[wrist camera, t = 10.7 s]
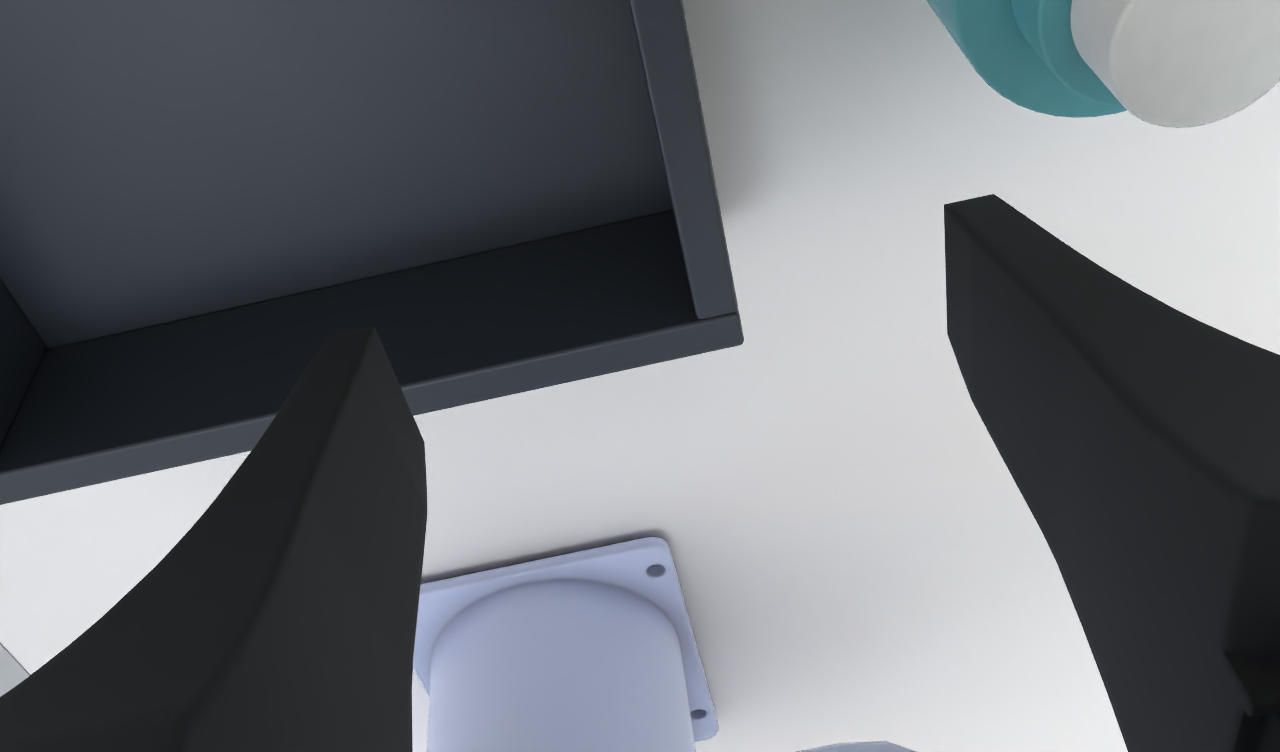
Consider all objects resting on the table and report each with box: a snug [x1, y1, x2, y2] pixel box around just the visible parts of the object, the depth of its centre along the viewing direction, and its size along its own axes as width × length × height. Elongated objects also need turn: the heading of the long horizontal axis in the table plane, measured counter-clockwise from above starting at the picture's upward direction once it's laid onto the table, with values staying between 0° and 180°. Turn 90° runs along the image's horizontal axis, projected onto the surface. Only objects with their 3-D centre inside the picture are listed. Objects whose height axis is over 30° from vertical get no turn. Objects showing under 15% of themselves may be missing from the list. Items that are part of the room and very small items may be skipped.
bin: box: [0, 0, 744, 505], centre depth 20 cm, size 14×16×4 cm
